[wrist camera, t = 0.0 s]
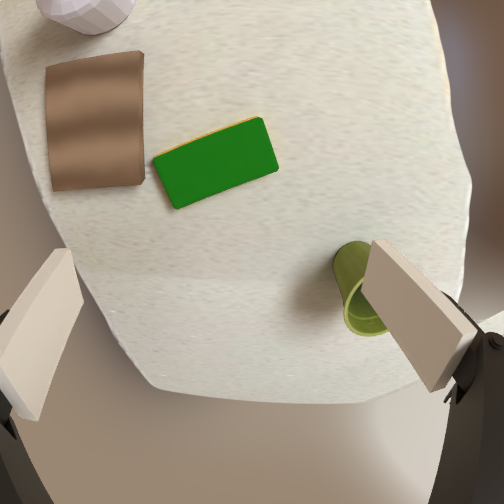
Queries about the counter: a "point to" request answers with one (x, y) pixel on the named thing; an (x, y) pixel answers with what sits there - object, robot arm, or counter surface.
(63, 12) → the soap bottle
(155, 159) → the dish sponge
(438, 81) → the counter surface
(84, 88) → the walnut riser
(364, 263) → the plant pot
